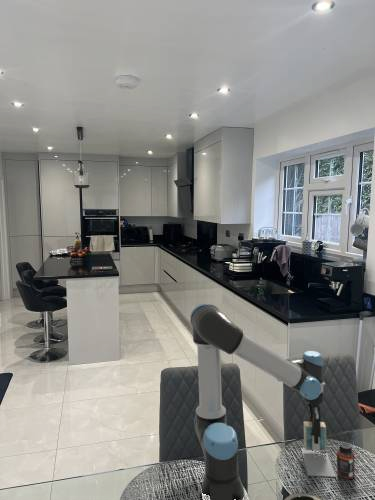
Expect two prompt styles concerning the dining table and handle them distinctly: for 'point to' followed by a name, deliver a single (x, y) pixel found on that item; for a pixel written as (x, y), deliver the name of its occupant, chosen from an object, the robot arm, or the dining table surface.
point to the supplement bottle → (345, 461)
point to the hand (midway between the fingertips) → (314, 446)
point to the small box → (309, 438)
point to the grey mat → (317, 464)
